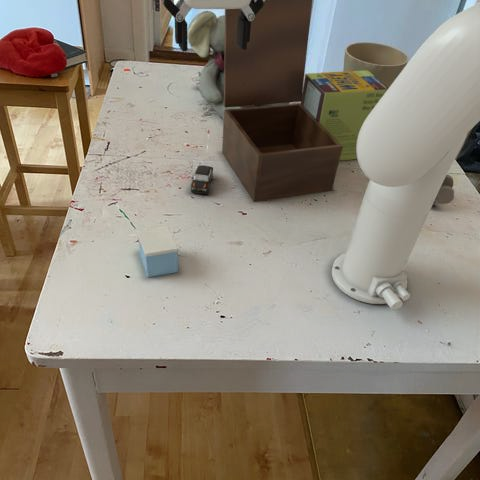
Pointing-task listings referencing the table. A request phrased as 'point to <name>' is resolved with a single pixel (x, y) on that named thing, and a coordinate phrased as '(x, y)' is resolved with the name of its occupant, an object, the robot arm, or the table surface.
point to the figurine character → (445, 191)
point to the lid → (267, 55)
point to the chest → (279, 151)
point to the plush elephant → (212, 75)
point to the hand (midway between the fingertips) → (212, 47)
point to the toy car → (202, 179)
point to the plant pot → (375, 60)
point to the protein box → (342, 103)
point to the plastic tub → (158, 251)
